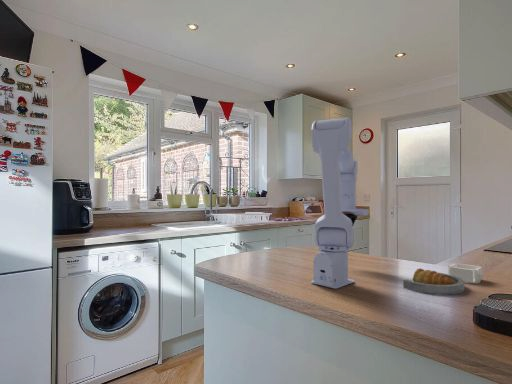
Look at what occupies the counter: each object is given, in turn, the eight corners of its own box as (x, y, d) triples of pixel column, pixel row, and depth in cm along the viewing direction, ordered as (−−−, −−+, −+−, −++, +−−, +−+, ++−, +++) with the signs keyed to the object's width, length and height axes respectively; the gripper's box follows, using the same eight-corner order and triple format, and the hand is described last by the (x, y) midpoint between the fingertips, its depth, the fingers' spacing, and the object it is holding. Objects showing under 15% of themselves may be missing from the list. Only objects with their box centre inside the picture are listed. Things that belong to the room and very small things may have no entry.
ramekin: (476, 285, 85) (476, 270, 85) (447, 280, 90) (447, 266, 90) (483, 280, 90) (483, 266, 90) (454, 275, 95) (454, 262, 95)
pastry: (458, 287, 84) (458, 272, 84) (448, 292, 80) (447, 277, 80) (421, 279, 91) (421, 266, 91) (410, 284, 87) (409, 270, 87)
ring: (454, 299, 74) (453, 290, 74) (401, 288, 82) (401, 280, 82) (472, 285, 84) (471, 277, 84) (424, 277, 93) (424, 270, 93)
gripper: (373, 195, 105) (373, 237, 105) (334, 195, 116) (334, 233, 116) (362, 195, 101) (362, 239, 100) (323, 195, 111) (323, 235, 111)
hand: (347, 236), depth 108 cm, fingers closed
